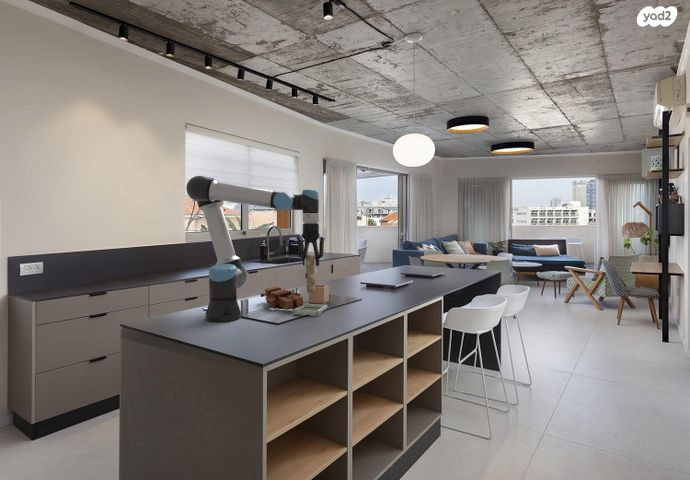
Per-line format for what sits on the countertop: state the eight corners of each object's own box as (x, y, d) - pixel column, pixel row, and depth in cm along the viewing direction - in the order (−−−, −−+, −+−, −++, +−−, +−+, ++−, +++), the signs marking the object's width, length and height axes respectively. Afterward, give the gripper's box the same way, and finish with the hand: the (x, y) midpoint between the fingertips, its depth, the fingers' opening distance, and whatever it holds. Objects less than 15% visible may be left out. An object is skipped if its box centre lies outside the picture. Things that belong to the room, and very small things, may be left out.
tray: (293, 314, 196) (293, 309, 196) (304, 308, 209) (304, 303, 209) (317, 316, 193) (317, 311, 193) (327, 309, 206) (327, 305, 206)
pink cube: (309, 304, 218) (309, 286, 218) (314, 301, 226) (314, 284, 226) (323, 305, 216) (323, 287, 216) (328, 302, 224) (328, 285, 223)
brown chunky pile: (311, 307, 206) (283, 296, 231) (309, 290, 205) (281, 281, 230) (279, 316, 197) (254, 304, 222) (277, 298, 196) (252, 288, 220)
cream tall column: (305, 293, 199) (305, 255, 198) (308, 292, 203) (308, 254, 202) (313, 293, 198) (313, 255, 197) (316, 292, 202) (316, 254, 201)
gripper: (290, 223, 197) (291, 273, 199) (325, 223, 193) (325, 274, 194) (296, 222, 205) (297, 271, 206) (330, 222, 200) (330, 272, 201)
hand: (311, 272), depth 200 cm, fingers closed on cream tall column, 4 cm apart
